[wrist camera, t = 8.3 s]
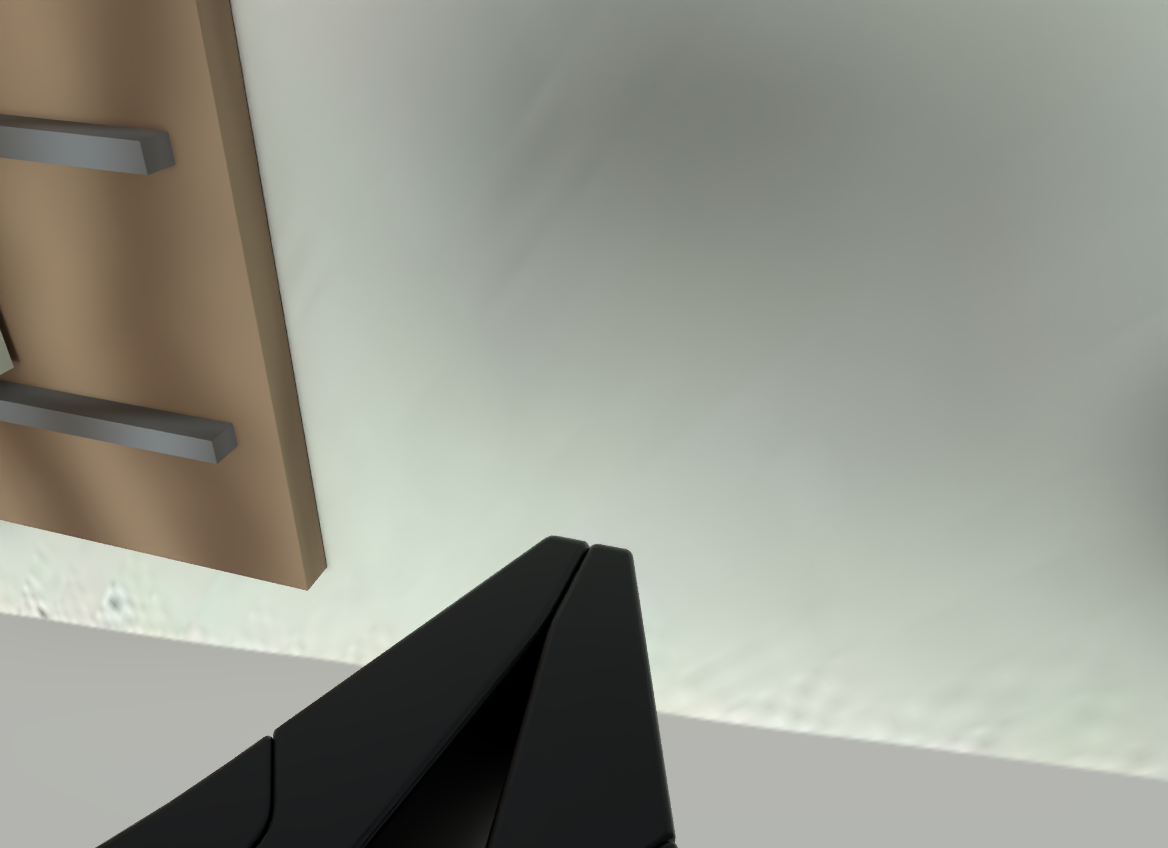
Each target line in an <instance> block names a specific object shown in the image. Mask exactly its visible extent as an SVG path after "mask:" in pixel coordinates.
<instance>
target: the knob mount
mask: <svg viewBox="0 0 1168 848" xmlns="http://www.w3.org/2000/svg"><path fill="white" fill-rule="evenodd" d="M0 330H1V333H2V336H3V339H4V341H5V344H6V347H7V350H8V352H9V355H10V358H11V361H12V363H13V366H14V368H12V369H10V370H8V371H6V372H5V373H3V374H1V375H0V520H3V521H8V522H12V523H16V524H21V525H25V526H29V527H34V528H38V529H43V530H47V531H51V532H56V533H60V534H64V535H69V536H73V537H77V538H82V539H86V540H90V541H95V542H99V543H103V544H108V545H112V546H116V547H121V548H125V549H129V550H134V551H138V552H142V553H147V554H151V555H155V556H160V557H164V558H168V559H173V560H177V561H181V562H186V563H190V564H194V565H199V566H203V567H207V568H212V569H216V570H221V571H225V572H229V573H234V574H238V575H242V576H247V577H251V578H255V579H260V580H264V581H268V582H273V583H277V584H281V585H286V586H290V587H294V588H299V589H303V590H307V591H308V590H309V589H310V587H311V586H312V585H313V584H314V582H315V581H316V580H317V579H318V577H319V576H320V575H321V574H322V572H323V571H324V570H325V569H326V561H325V555H324V549H323V544H322V538H321V532H320V526H319V520H318V515H317V509H316V503H315V497H314V491H313V485H312V480H311V474H310V468H309V462H308V456H307V451H306V445H305V439H304V433H303V427H302V421H301V416H300V410H299V404H298V398H297V392H296V387H295V381H294V375H293V369H292V363H291V357H290V352H289V346H288V340H287V334H286V328H285V323H284V317H283V311H282V305H281V299H280V293H279V288H278V282H277V276H276V270H275V264H274V258H273V253H272V247H271V241H270V235H269V229H268V224H267V218H266V212H265V206H264V200H263V194H262V189H261V183H260V177H259V171H258V165H257V160H256V154H255V148H254V142H253V136H252V130H251V125H250V119H249V113H248V107H247V101H246V96H245V90H244V84H243V78H242V72H241V66H240V61H239V55H238V49H237V43H236V37H235V32H234V26H233V20H232V14H231V8H230V2H229V0H0Z"/></svg>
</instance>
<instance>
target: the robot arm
mask: <svg viewBox="0 0 1168 848" xmlns="http://www.w3.org/2000/svg"><path fill="white" fill-rule="evenodd" d="M96 848H678V847H677V845H676V844H675V830H674V824H673V817H672V810H671V804H670V797H669V791H668V784H667V777H666V771H665V764H664V758H663V751H662V744H661V738H660V732H659V725H658V718H657V711H656V705H655V698H654V692H653V685H652V679H651V672H650V665H649V659H648V652H647V646H646V639H645V633H644V626H643V619H642V613H641V606H640V600H639V593H638V586H637V580H636V573H635V567H634V560H633V555H632V553H631V552H630V551H629V550H627V549H623V548H618V547H612V546H607V545H602V544H594V545H592V546H591V547H589V545H588V544H587V543H586V542H585V541H581V540H576V539H571V538H565V537H560V536H549V537H546V538H545V539H543V540H542V541H540V542H539V543H538V544H536V545H535V546H533V547H532V548H531V549H529V550H528V551H526V552H525V553H523V554H522V555H521V556H519V557H518V558H516V559H515V560H514V561H512V562H511V563H509V564H508V565H507V566H505V567H504V568H502V569H501V570H499V571H498V572H497V573H495V574H494V575H492V576H491V577H490V578H488V579H487V580H485V581H484V582H483V583H481V584H480V585H478V586H477V587H476V588H474V589H473V590H471V591H470V592H468V593H467V594H466V595H464V596H463V597H461V598H460V599H459V600H457V601H456V602H454V603H453V604H452V605H450V606H449V607H447V608H446V609H445V610H443V611H442V612H440V613H439V614H437V615H436V616H435V617H433V618H432V619H430V620H429V621H428V622H426V623H425V624H423V625H422V626H421V627H419V628H418V629H416V630H415V631H413V632H412V633H411V634H409V635H408V636H406V637H405V638H404V639H402V640H401V641H399V642H398V643H397V644H395V645H394V646H392V647H391V648H390V649H388V650H387V651H385V652H384V653H382V654H381V655H380V656H378V657H377V658H375V659H374V660H373V661H371V662H370V663H368V664H367V665H366V666H364V667H363V668H361V669H360V670H358V671H357V672H356V673H354V674H353V675H351V676H350V677H349V678H347V679H346V680H345V681H343V682H342V683H340V684H339V685H337V686H336V687H335V688H333V689H332V690H330V691H329V692H328V693H326V694H325V695H323V696H322V697H320V698H319V699H318V700H316V701H315V702H314V703H312V704H311V705H309V706H308V707H306V708H305V709H304V710H302V711H301V712H299V713H298V714H296V715H295V716H294V717H292V718H291V719H289V720H288V721H287V722H285V723H284V724H282V725H281V726H280V727H278V728H277V729H276V730H275V731H274V734H273V738H272V737H270V736H265V737H263V738H262V739H261V740H259V741H258V742H257V743H255V744H254V745H252V746H251V747H249V748H248V749H247V750H245V751H244V752H242V753H241V754H240V755H238V756H237V757H235V758H234V759H233V760H231V761H230V762H228V763H227V764H225V765H224V766H222V767H221V768H219V769H218V770H216V771H215V772H213V773H212V774H210V775H209V776H207V777H206V778H205V779H203V780H202V781H200V782H199V783H197V784H196V785H194V786H193V787H191V788H190V789H188V790H187V791H185V792H184V793H182V794H181V795H180V796H178V797H176V798H175V799H173V800H172V801H170V802H169V803H167V804H166V805H164V806H162V807H161V808H159V809H158V810H156V811H155V812H153V813H151V814H150V815H148V816H146V817H145V818H143V819H141V820H140V821H138V822H137V823H135V824H134V825H132V826H130V827H129V828H127V829H125V830H124V831H122V832H121V833H119V834H117V835H116V836H114V837H112V838H111V839H109V840H107V841H106V842H104V843H103V844H101V845H99V846H98V847H96Z"/></svg>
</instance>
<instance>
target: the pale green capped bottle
mask: <svg viewBox="0 0 1168 848" xmlns="http://www.w3.org/2000/svg"><path fill="white" fill-rule="evenodd" d="M12 368H14V366H13V363H12V361H11V358H10V355H9V352H8V350H7V347H6V344H5V341H4V339H3V336H2V333H1V330H0V375H1V374H3V373H5V372H6V371H8V370H10V369H12Z"/></svg>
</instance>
